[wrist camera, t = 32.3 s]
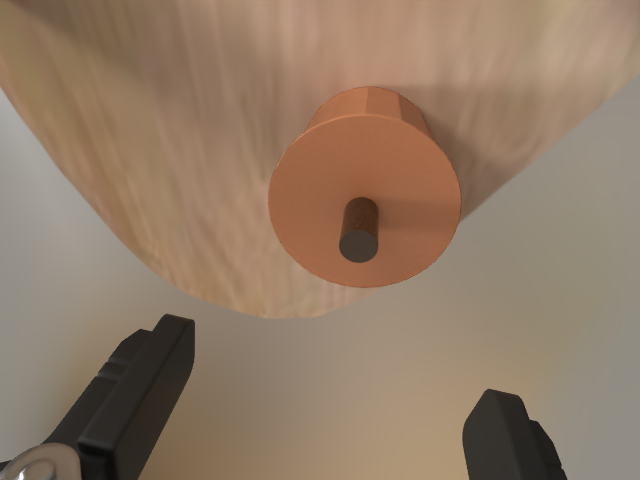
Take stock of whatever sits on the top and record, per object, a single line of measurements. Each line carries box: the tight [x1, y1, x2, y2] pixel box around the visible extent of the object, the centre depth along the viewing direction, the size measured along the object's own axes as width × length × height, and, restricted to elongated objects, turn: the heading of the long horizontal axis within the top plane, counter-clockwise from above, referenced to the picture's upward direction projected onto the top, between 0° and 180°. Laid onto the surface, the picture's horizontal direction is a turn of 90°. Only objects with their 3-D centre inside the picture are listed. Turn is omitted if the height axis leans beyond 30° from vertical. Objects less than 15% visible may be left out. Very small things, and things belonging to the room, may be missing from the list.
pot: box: [304, 87, 435, 141], centre depth 33 cm, size 12×12×12 cm
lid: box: [268, 113, 461, 288], centre depth 26 cm, size 14×14×6 cm
